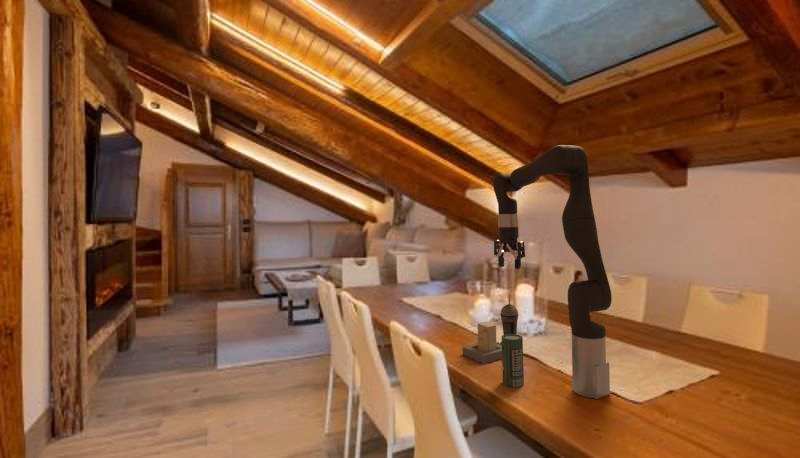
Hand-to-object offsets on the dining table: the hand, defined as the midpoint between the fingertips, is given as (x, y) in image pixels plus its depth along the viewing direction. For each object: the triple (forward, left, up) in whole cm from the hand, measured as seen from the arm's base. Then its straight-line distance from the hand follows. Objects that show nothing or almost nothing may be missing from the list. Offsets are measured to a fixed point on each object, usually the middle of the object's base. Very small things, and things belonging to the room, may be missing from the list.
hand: (509, 267), depth 163 cm
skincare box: (0, +12, -32) cm, 34 cm away
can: (-23, +22, -32) cm, 45 cm away
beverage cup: (+7, -6, -32) cm, 34 cm away
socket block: (+1, +12, -32) cm, 34 cm away
